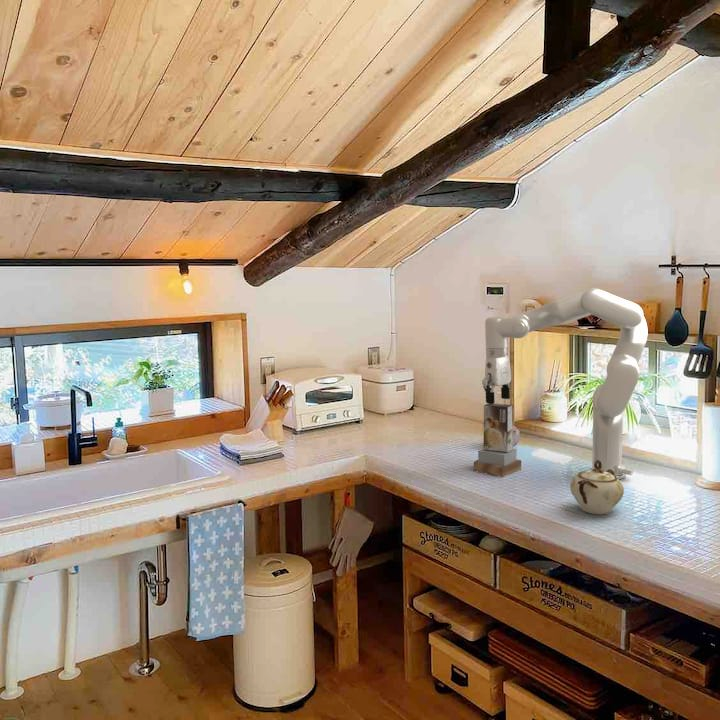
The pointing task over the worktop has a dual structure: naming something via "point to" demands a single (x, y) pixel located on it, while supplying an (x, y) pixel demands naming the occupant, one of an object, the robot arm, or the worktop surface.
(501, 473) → the tower base block
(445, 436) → the worktop surface
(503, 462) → the tower top block
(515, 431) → the food item
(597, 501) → the sugar bowl
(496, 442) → the coffee box
